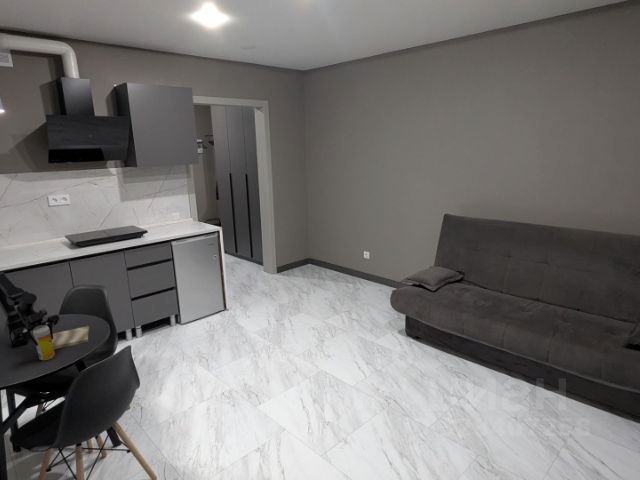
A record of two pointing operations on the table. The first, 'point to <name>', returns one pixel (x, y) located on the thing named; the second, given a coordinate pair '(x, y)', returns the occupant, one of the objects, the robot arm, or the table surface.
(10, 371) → the table surface
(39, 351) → the beer can
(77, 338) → the birch board
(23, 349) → the table surface
